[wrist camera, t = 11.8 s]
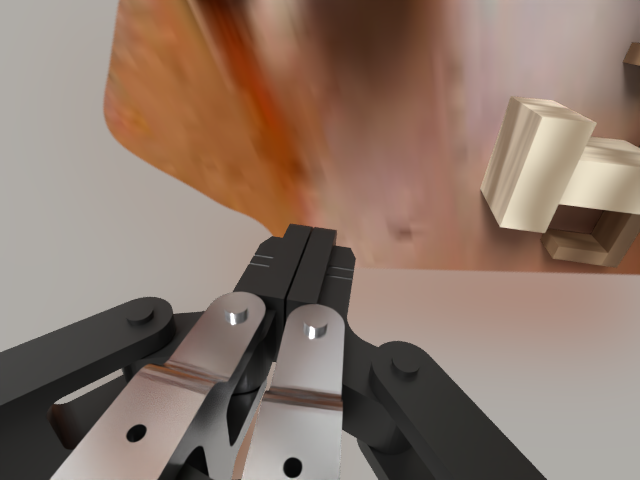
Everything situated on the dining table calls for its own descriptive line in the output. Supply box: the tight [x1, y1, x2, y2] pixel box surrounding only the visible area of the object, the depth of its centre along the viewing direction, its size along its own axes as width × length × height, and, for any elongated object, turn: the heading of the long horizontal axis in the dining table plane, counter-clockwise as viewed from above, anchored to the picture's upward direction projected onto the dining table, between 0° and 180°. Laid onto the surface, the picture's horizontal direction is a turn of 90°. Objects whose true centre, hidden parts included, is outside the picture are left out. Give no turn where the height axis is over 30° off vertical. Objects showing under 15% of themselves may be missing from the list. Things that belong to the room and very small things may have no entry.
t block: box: [480, 96, 640, 233], centre depth 34 cm, size 12×10×9 cm
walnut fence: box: [540, 42, 640, 268], centre depth 36 cm, size 7×21×4 cm, turn 176°
